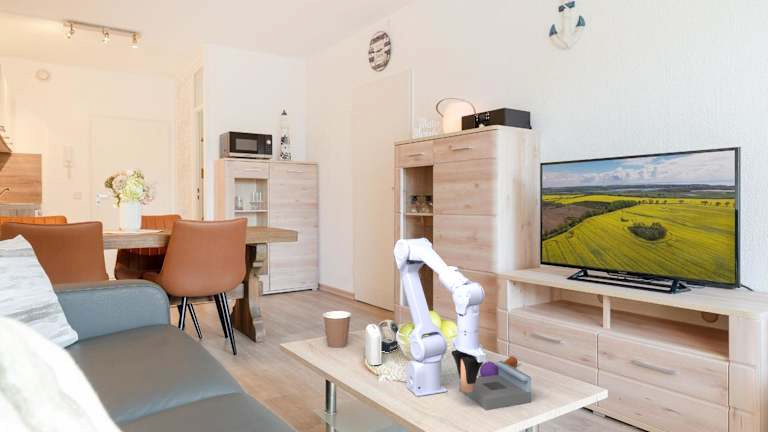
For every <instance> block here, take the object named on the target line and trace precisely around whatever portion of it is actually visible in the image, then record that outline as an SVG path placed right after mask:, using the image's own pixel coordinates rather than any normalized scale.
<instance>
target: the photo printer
mask: <svg viewBox="0 0 768 432" xmlns="http://www.w3.org/2000/svg"><path fill="white" fill-rule="evenodd" d="M364 337H365V343H364V344H365V347H364V348H365V358H366V360H367V362H368V364H369V365H370V366H372V365H375V364H379V363H381V364H382V352H381V342H382V340H381V332H380V329H379V328H378V325H377V324H374V323H372V324H371V323H370V324H367V326H366V327H365V336H364Z"/></svg>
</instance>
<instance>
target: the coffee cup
mask: <svg viewBox="0 0 768 432" xmlns="http://www.w3.org/2000/svg"><path fill="white" fill-rule="evenodd" d="M322 316H323V320H324V322H323V323H324V330H325V338H326V344H327V348H329V349H331V350H342V349H345V348H346V347H347V345H348V340H349V339H348V338H349V330H350V324H351V323H350V322H351V317H352V313H351V312H348V311H343V310H333V311H328V312H324V313H323V314H322Z"/></svg>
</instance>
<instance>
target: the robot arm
mask: <svg viewBox="0 0 768 432" xmlns="http://www.w3.org/2000/svg"><path fill="white" fill-rule="evenodd" d="M393 255H394V258H395V262H396V266H397V269H398V272H399V276H400V279H401V283H402V286H403V290H404V293H405V297H406V301H407V305H408V309H409V312H410V315H411V318H412V319H411V320H412V323H413V326H414V328H413V330H412V331H411V332H410V334H409V336H408V338H409V344H410V345H409V347H410V348H409V349H410V353H411V355H412V357H413V359H412V360H410V361H408V363H407V368H406V385H405V386H406V388H407V389H409V391H410V392H412V393H413V394H414V395H415V396H416V397H420V396H422V397H423V396H428V395H434V394H440V393H446V392H447V391H448V390H447V389H446V388H445V387H444V386H442V360H443V359H444V355H445V354H446V353H447V351H448V341H447V339H446V336H444V334H443V331H442V329H441V327H440V326H438V325H436V324H435V323H433V320H432V317H431V313H430V309H429V307H428V303H427V299H426V296H425V293H424V289H423V286H422V282H421V280H420V276H419V275H420V274H419V270H420V269H421V268H422V267H423V265H424V264H426V266H428V267H429V268H430V270H432V271H434V272H435V273H436V275H438V281H439V283H440V284H441V285H442V286H444V288H445V289H446V290H447V291H448V292H450V294H451V295H452V299H453V303H454V305H455V312H456V317H457V319H456V337H455V338H451V340H450V341H451V343H450V346H451V347H452V348H454V347H455V350H452V351H451V355H452V357H453V359H454V362H455V364H456V368H457V375H458V378H459V380H461V359H462V360H463V363H464V366H465V370H466V380H467V384H474V383H475V382H476V378H478V375H479V373H480V368H481V366H482V365H483V364H484V363H486V362H487V353H485V352H484V351H483V350H482V349H483V345H482V344H481V343H480V305H481V304H482V303H483V302H484V301H485V291H484V288H483V286H481V284H480V283H479V282H472V281H470V280H469V278H467V277H466V276H465V275H464V274H463V273H462V272H460V269H459V268H458V267H457V266H453V265H449V266H448V265H447V264H446V262H445V261H444V260H443V258H441V256H440V255H439V254H438V253H437V252H436V251H435V250H434V247H433V243H431V242H430V241H429V240H428V239H427V238H426V237H420V238H410V239H404V238H403V239H399V240H397V241H396V244H395V245H394V249H393Z"/></svg>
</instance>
